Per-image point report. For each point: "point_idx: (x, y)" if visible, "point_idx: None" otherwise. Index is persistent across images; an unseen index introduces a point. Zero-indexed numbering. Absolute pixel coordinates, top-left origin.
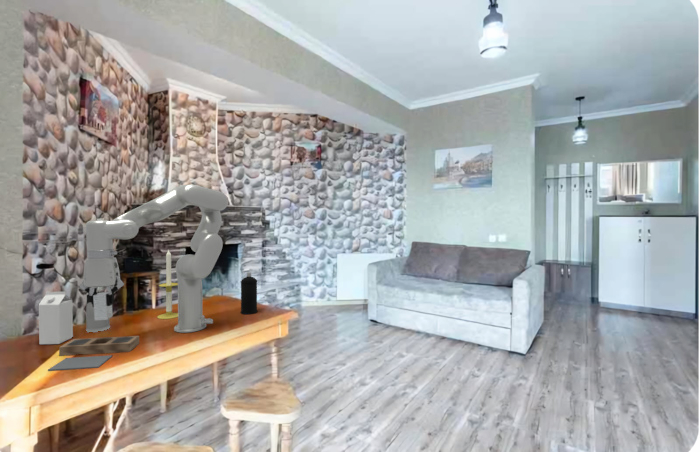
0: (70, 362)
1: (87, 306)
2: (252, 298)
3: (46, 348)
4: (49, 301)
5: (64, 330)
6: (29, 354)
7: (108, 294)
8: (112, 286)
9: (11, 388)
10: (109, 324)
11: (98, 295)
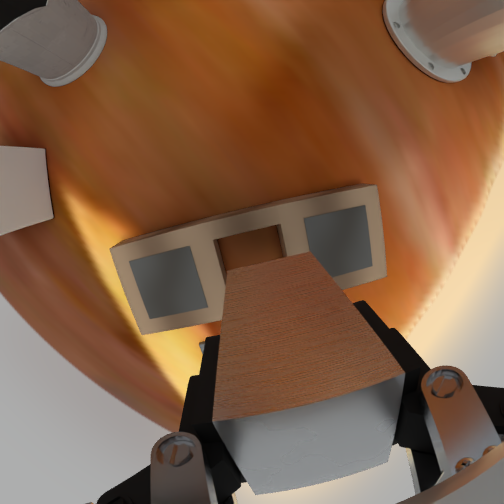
0: None
1: None
2: None
3: (52, 258)
4: None
5: (24, 195)
6: (56, 307)
7: (398, 431)
8: (478, 453)
9: None
10: (94, 17)
11: (311, 481)
